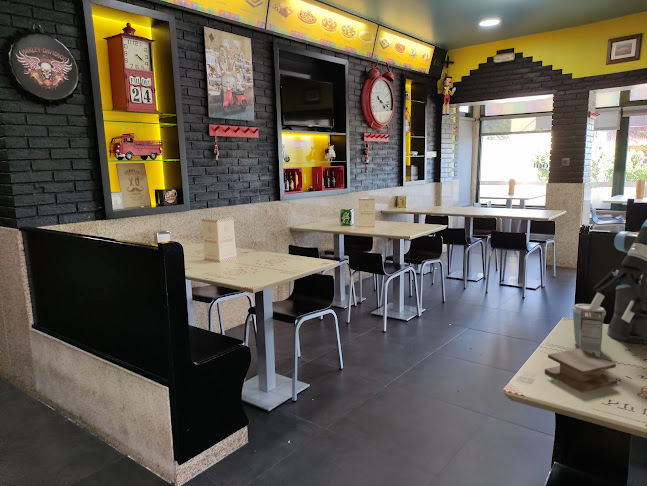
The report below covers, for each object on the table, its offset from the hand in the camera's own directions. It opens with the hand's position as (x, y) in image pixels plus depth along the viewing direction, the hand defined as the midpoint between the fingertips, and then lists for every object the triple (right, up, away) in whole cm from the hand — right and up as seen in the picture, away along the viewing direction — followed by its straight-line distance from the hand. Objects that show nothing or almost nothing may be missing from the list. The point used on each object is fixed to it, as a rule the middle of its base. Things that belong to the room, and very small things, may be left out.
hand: (607, 315), depth 151 cm
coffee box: (-4, -16, +5) cm, 17 cm away
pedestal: (-14, -18, -8) cm, 24 cm away
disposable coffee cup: (+3, -14, +17) cm, 22 cm away
